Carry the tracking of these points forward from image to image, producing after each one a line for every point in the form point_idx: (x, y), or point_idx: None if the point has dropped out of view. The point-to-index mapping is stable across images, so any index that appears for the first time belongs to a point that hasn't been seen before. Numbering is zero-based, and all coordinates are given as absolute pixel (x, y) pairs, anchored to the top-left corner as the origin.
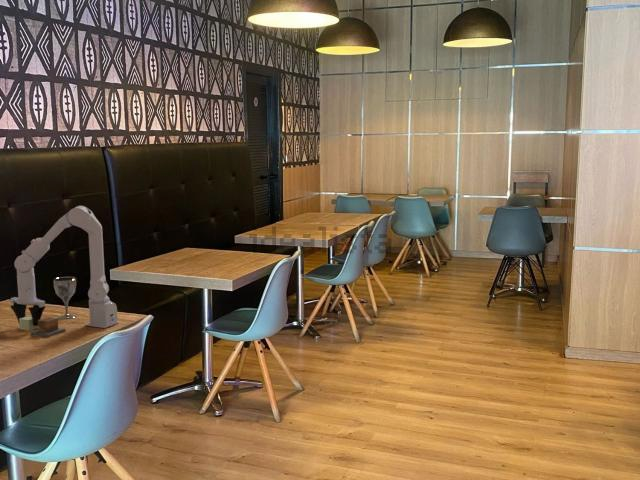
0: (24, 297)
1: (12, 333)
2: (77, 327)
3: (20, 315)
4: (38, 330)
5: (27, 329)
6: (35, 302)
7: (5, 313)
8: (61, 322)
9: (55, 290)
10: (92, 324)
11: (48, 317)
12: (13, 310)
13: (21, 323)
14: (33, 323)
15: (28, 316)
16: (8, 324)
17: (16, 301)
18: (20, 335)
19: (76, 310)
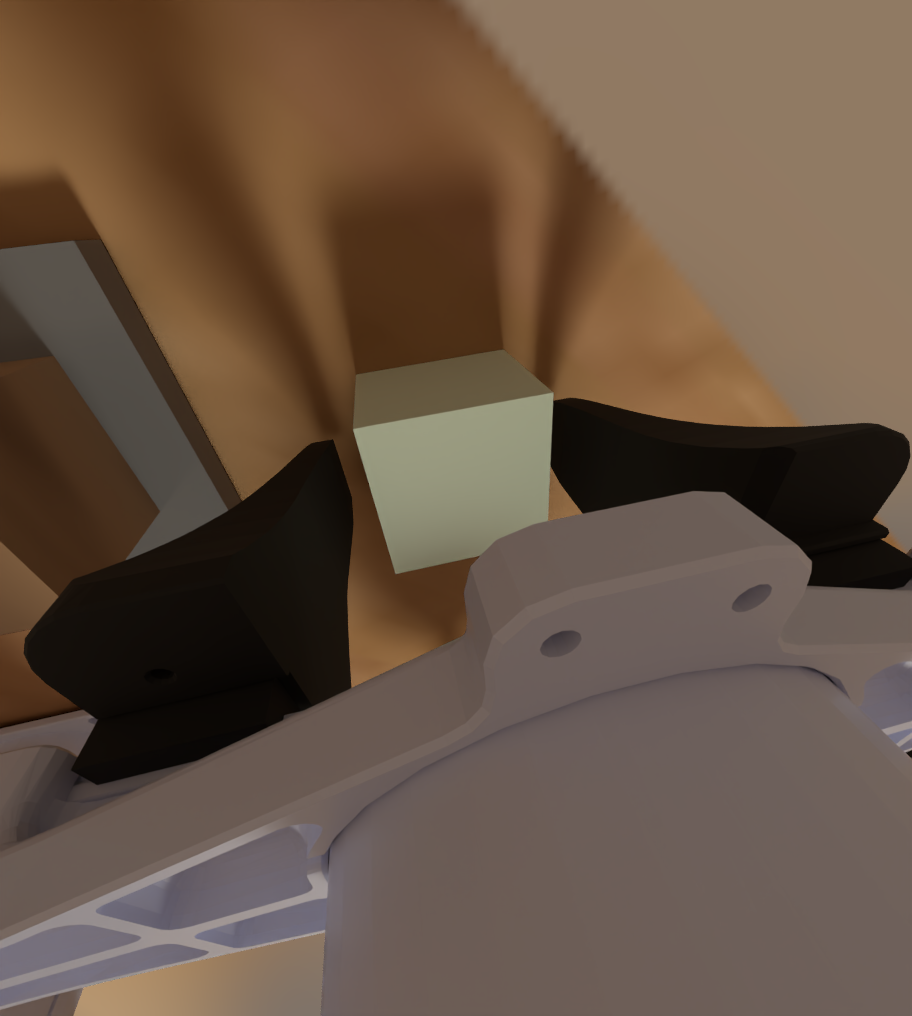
0: None
1: (420, 142)
2: None
3: (607, 464)
4: (107, 378)
5: (383, 373)
6: (16, 897)
7: (894, 538)
8: (369, 643)
9: None
10: (30, 739)
11: (31, 611)
12: (756, 428)
13: (490, 377)
14: (316, 450)
15: (525, 522)
16: (737, 395)
17: (878, 604)
18: (197, 121)
19: None
